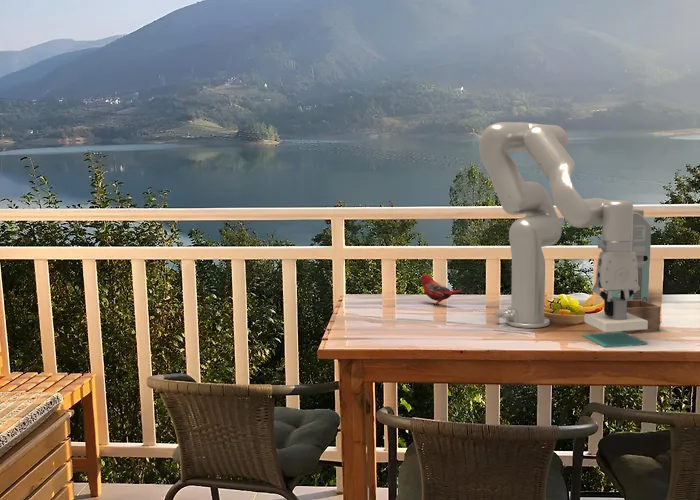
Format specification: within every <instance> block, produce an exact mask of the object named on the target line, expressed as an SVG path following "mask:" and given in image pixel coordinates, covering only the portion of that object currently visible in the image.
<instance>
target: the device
mask: <svg viewBox="0 0 700 500" xmlns="http://www.w3.org/2000/svg"><path fill="white" fill-rule="evenodd" d="M644 213H645V210H643V209H636V208H633V235H632V252H635V254H636V259H637V267H638V285H639V287H640V289H639V290H638V291H636V292H635V293H633V294H632V296H631V297H630V298H629V300H644V301H646V302H649V294H650V293H649V292H650V291H649V290H650V289H649V288H650V268H651V267H650V266H651V245H652V244H651V243H652V242H651V241H652V239H651V237H652V225H651V224H650V222H649V221H648V220H647V219H645V217H644ZM619 294H620V290H618V291H613V292H612V297H618V298H620V295H619Z"/></svg>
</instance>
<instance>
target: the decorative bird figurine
mask: <svg viewBox="0 0 700 500" xmlns="http://www.w3.org/2000/svg"><path fill="white" fill-rule="evenodd" d="M419 281H421V285H422V288H423V290H424V293H425V295H426V296H427V297H428V298H430V299H431V300H433V301H434V302H430V304H431V305H433V304H437V305H436V306H439V305H440V306H441V305H442V304H441V302H442V301H443V300H448V299H449V298H450V297H452V296H453V295H456V294H459V293H462V292H463V290H451V289H450V288H448V287H446V286H445V285H443V284H441V283H439V282H437V281H435V280H434V279H433V278H432V277H431V276H430V275H429V274H427V273H423V274H422V275H421V277H420V278H419Z"/></svg>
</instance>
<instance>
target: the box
mask: <svg viewBox="0 0 700 500" xmlns="http://www.w3.org/2000/svg"><path fill="white" fill-rule="evenodd" d="M627 313H629V314H632V315H634V316H637V317H639V318H642V319H644V320H647V321H648V329H642V330H627V331H622V332H624V333H626V334H636V333H635V332H640V333H654V332H655V333H656V332H660V331H661V330H660V328H661V306H659V305H658V304H654V303H652V302H649V301H648V302H646V301H644V300H628V301H627Z"/></svg>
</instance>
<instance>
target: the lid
mask: <svg viewBox="0 0 700 500" xmlns="http://www.w3.org/2000/svg"><path fill="white" fill-rule="evenodd" d="M612 302H613V316H611V317H610V316H608V315H606V314H605V312H598V313H597V312H596V313H585V314H584V323H586V324H588V325H590V326H592V327H594V328H597V329H599V330H600V331H603V332H604V333H613V332H623V331H627V330H642V329H648V321H647V320H644V319H642V318H639V317H637V316H634V315H632V314H629V313H627V301H626V300H623V299H620V298H618V297H612Z"/></svg>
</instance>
